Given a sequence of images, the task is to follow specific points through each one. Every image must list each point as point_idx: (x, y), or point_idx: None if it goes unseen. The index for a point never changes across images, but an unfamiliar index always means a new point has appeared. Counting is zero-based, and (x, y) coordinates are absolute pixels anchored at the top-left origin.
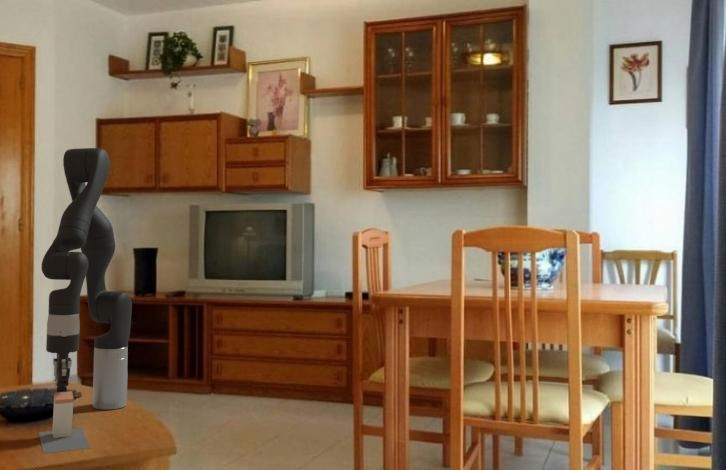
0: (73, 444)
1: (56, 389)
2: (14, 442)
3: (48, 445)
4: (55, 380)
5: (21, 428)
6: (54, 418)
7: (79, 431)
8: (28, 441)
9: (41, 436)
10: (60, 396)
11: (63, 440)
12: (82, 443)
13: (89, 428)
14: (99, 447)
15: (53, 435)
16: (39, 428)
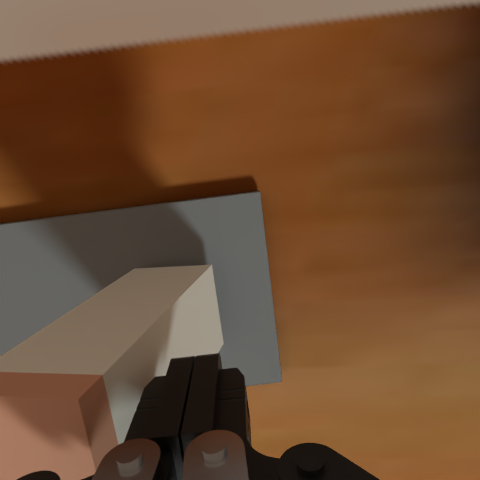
0: None
1: (207, 414)
2: (152, 83)
3: (9, 254)
4: (295, 463)
5: (421, 91)
6: (67, 312)
7: None
8: (156, 151)
9: (173, 211)
10: (10, 438)
11: None
12: None
13: (315, 402)
14: None
15: (139, 270)
16: (389, 184)
